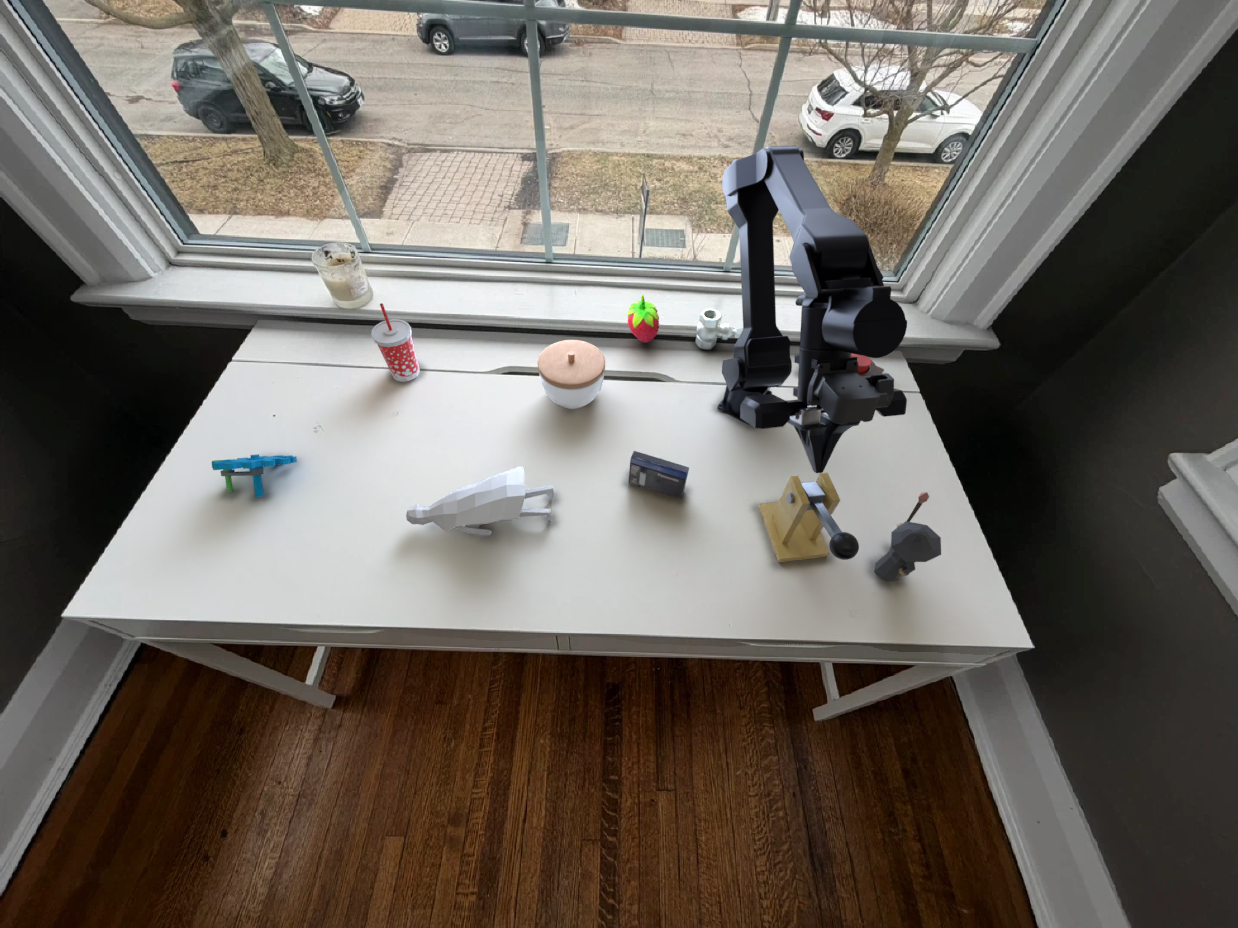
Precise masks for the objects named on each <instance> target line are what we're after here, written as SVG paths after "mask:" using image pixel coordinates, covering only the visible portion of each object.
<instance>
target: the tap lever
mask: <svg viewBox="0 0 1238 928" xmlns="http://www.w3.org/2000/svg"><path fill="white" fill-rule="evenodd" d="M801 484H802V486H803V488H804V491H805V493H806V495H807V498H808V500H809V502H810V504H809V506H808V508H807V510H806V511H808V510H813V511H814V512H815V514H816V515H817V517H818V518H819V520H820V521H821V523H822V525H823V526H824V527H823V529H825V531H826V533H827V534H828V535H829V536H830V539H829V542H828V548H829V551H830V553H831V554H832V555H833V556H834V557H835V558H836V559H838V560H842V561H849V560H851V559H853V558H855V557H856V556H857V554H858V553H859V550H860V545H859V541H858V539H857V538H856V537H855V536H854V534H851V533H850V532H847V531H842V530H841V528H840V527H839V525H838V523H837V522H836V521H835V519H834V518H833V517H832V515H830V513H829V512H828V510H827V509H826V507H825V506H824V504H823V502H824V499H825V494H824V492H823V491H822V489H821V488H820V486H819V485H818V484H817V482H816V481H808V482H801Z"/></svg>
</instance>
